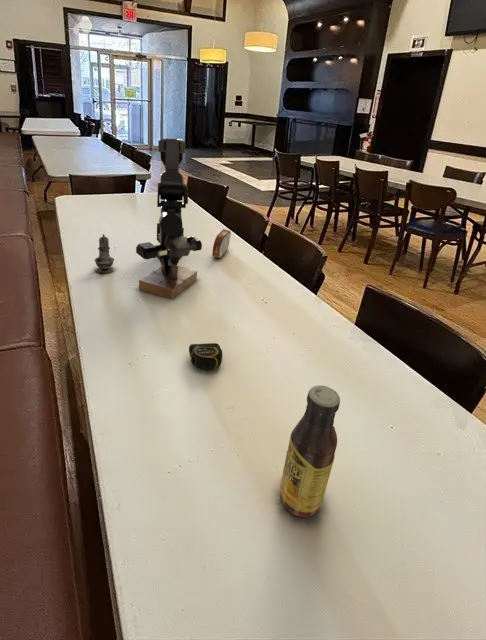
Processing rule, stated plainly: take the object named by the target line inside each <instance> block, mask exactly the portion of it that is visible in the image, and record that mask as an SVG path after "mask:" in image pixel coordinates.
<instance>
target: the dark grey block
mask: <svg viewBox="0 0 486 640" xmlns="http://www.w3.org/2000/svg"><path fill="white" fill-rule="evenodd" d="M177 266H178V265H177ZM177 266H176V265H174V264H173V263H172V262H170V259H168V275H166V274H165V273H164V271H163V268H162V266H160V267H161V272H163V273H164V274H165V275H166V276H168V277H169V278H170V279H171V280H176V279H177V271H178V267H177Z"/></svg>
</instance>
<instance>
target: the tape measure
mask: <svg viewBox="0 0 486 640" xmlns="http://www.w3.org/2000/svg"><path fill="white" fill-rule="evenodd" d="M188 353H189V357H190V361H191V364H192V366H193V367H195V368H196V369H198V370H202V371H212V370H215V369H218V368H220V366H221V365H222V362H223V349H222V348H221V346H220V344H219V343H216V342H211V343H210V342H208V343H191V344H189V346H188Z"/></svg>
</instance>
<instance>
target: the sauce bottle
mask: <svg viewBox="0 0 486 640" xmlns="http://www.w3.org/2000/svg"><path fill="white" fill-rule="evenodd" d="M340 404H341V396H340V395H339V394H338V392H337V391H336V390H334V389H333V388H331V387H329V386H327V385H321V384H320V385H314V386H312V387H310V389H309V390H308V392H307V395H306V408H305V412H304V413H303V415H302V417H301V418H300V420H298V422H297V424H296V425H295V426H294V428H293V429H292V431H291V432H290V436H289V440H288V446H287V450H286V453H285V460H284V466H283V470H282V475H281V480H280V487H279V489H280V492H279V494H280V500H281V503H282V504H283V506H284V507H285V509H286V510H287V511H288V512H289V513H290V514H292V515H293V516H297V517H299V518H300V517H301V518H310V517H312V516H314V515H315V514H316V513H318V512H319V511H320V510H321V506H322V504H323V501H324V497H325V493H326V490H327V487H328V483H329V479H330V475H331V472H332V469H333V464H334V460H335V455H336V450H337V447H338V435H337V434H338V433H337V432H336V428H335V426H334V423H335V418H336V413H337V412H338V411H339V408H340Z"/></svg>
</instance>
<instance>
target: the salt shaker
mask: <svg viewBox="0 0 486 640" xmlns="http://www.w3.org/2000/svg"><path fill="white" fill-rule="evenodd" d="M109 242H110V241H109V238H108V237H107V236H105V234H104V233H103V234H102V236H101V237H99V240H98V244H99V245H98V247H97V250H98V256H97V257H95V259H94V263H95V265H96V266H97V268H96V269H95V272H96V273H98V274H102V275H106V274H111V273H113V272H114V268H113V267H112V266H113V264H114V261H115V258H114V257H112V256H111V255H110V249H111V247H110V243H109Z"/></svg>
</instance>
